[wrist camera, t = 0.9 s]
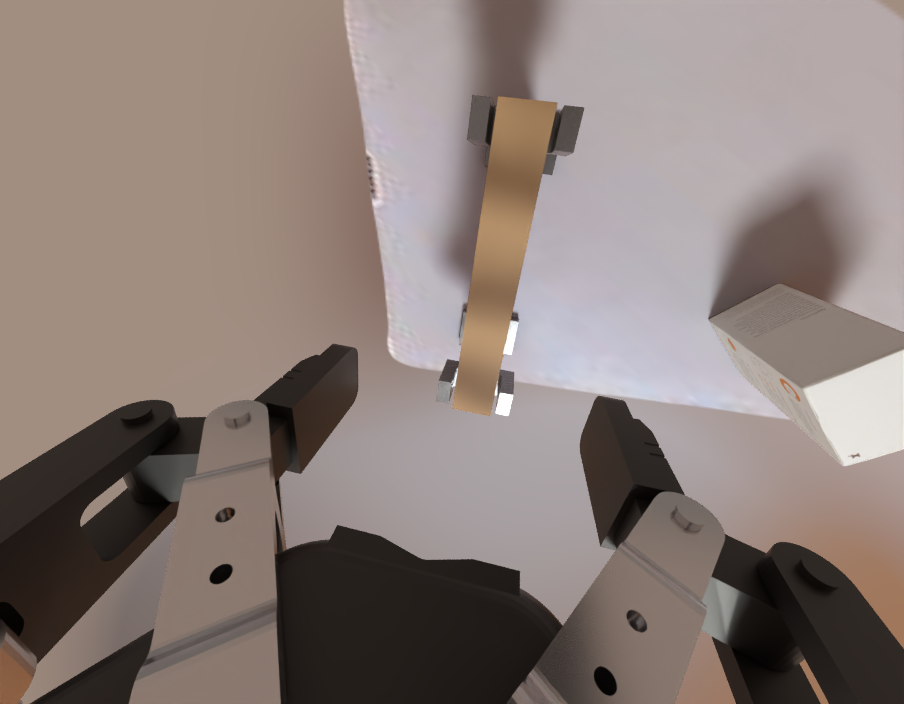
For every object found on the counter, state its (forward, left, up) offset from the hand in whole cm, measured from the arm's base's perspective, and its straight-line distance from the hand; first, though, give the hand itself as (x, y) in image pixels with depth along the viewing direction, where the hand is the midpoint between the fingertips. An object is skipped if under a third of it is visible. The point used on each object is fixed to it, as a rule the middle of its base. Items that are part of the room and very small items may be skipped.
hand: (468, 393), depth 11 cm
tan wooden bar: (0, 0, -15) cm, 15 cm away
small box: (+4, +26, -26) cm, 37 cm away
